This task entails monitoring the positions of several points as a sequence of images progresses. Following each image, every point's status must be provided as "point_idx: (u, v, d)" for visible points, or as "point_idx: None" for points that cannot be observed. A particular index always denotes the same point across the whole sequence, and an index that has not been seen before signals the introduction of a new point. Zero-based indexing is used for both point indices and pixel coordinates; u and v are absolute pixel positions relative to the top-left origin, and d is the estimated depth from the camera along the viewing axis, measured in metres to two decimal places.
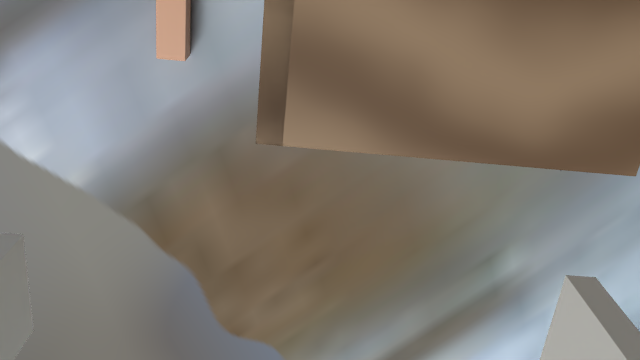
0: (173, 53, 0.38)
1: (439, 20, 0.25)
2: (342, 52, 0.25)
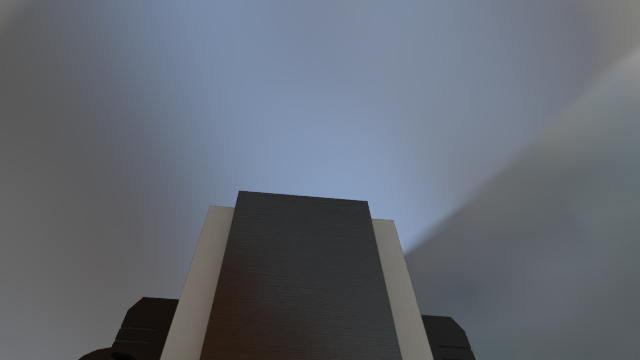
0: None
1: None
2: None
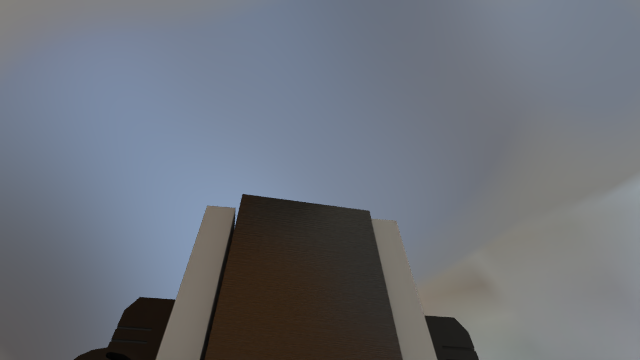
0: None
1: None
2: None
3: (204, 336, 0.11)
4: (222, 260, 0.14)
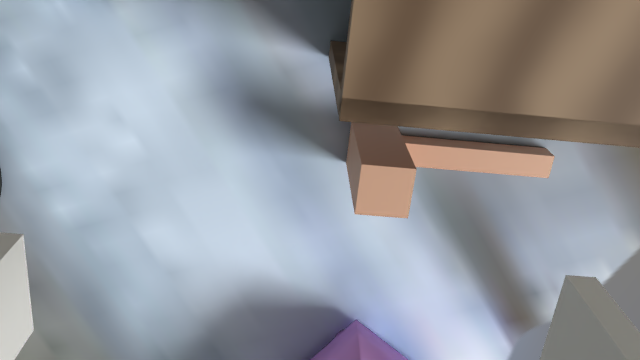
0: (546, 164, 0.46)
1: None
2: (619, 80, 0.30)
3: None
4: None
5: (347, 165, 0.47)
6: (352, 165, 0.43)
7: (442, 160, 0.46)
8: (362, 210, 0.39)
